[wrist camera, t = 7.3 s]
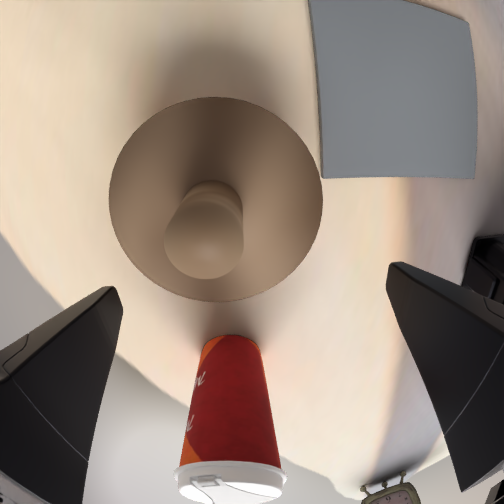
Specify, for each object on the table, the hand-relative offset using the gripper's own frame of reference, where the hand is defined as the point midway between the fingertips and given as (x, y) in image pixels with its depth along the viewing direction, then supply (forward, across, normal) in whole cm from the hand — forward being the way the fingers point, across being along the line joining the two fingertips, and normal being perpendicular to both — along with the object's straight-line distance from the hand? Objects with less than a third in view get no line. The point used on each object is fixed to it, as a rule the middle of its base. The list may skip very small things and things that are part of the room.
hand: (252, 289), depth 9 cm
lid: (+7, +2, -1) cm, 7 cm away
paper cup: (+12, +3, +16) cm, 20 cm away
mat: (+12, -12, -8) cm, 19 cm away
